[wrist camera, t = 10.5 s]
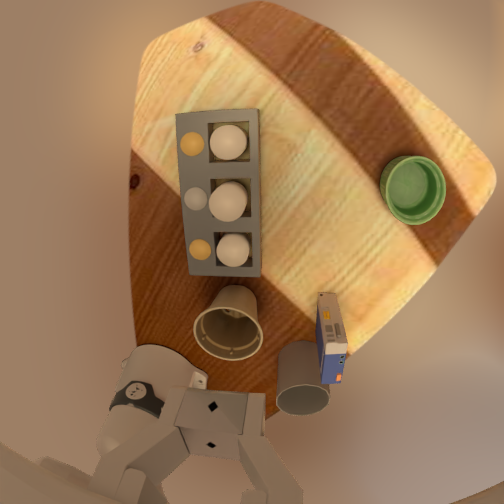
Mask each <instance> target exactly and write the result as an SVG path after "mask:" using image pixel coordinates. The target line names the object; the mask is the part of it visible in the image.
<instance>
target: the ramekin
mask: <svg viewBox="0 0 504 504" xmlns="http://www.w3.org/2000/svg"><path fill="white" fill-rule="evenodd" d="M380 191H381V195H382V197H383V199H384V201H385V203H386V204H387V205H388V208H389V210H390V211H391V213H392V214H393V215H394V216H395V217H396V218H397V219H398V220H400V221H401V222H403V223H406V224H410V225H418V224H422V223H425V222H427V221H429V220H431V219H432V218H433V217H434V216H435V215H436V214H437V213H438V212H439V210H440V209H441V207H442V205H443V202H444V199H445V195H446V184H445V179H444V176H443V174H442V172H441V170H440V168H439V167H438V166H437V165H436V164H435V163H434V162H433V161H432V160H430V159H428V158H426V157H422V156H400V157H397V158H395V159H393V160H392V161H390V162H389V163H388V164H387V166H386V167H385V168H384V170H383V172H382V174H381V178H380Z"/></svg>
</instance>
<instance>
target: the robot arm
mask: <svg viewBox="0 0 504 504" xmlns="http://www.w3.org/2000/svg"><path fill="white" fill-rule="evenodd" d="M121 367H122V368H123V371H122V373H121V376H120V378H119V380H118V383H117V385H116V388H115V392H116V395H115V397H114V398H113V400H112V403H111V405H110V408H109V410H110V413H109V415H108V417H107V419H106V421H105V423H104V425H103V427H102V429H101V431H100V433H99V435H98V437H97V441H96V445H97V450H98V452H99V454H100V456H101V459H100V461H99V463H98V465H97V467H96V470H95V472H94V474H93V476H90V475H88V474H86V473H84V472H82V471H80V470H79V469H76V468H75V467H73V466H70V465H68V464H65V463H63V462H60V461H58V460H55V459H53V458H50V457H42V458H39V459H36V460H35V461H33V462H32V461H30V460H28V459H27V458H25V457H23V456H22V455H20V454H18V453H17V452H15V451H14V450H12V449H11V448H9V447H8V446H6V445H5V444H3V443H2V442H0V504H169V502H168V500H167V498H166V496H165V494H164V491H163V488H162V484H161V482H162V481H163V480H164V479H165V478H166V477H167V476H168V475H170V473H172V472H173V471H174V470H175V469H176V468H177V467H178V466H179V465H180V464H181V463H182V462H183V461H185V459H187V458H188V457H189V454H192V455H200V456H208V457H216V458H224V459H231V460H240V462H241V464H242V466H243V468H244V469H245V471H246V473H247V475H248V477H249V479H250V481H251V482H252V484H253V486H254V488H255V490H248V489H247V490H246V491H244V492H243V493H242V498H241V503H240V504H303V489H302V488H301V487H300V485H299V484H298V483H297V481H296V480H295V478H294V477H293V475H292V474H291V473H290V471H289V470H288V468H287V467H286V466H285V464H284V463H283V461H282V460H281V458H280V457H279V455H278V454H277V452H276V451H275V449H274V448H273V446H272V445H271V443H270V442H269V440H268V439H267V437H264V429H265V394H264V393H249V392H232V391H219V390H218V391H213V390H206V389H207V380H208V375H207V374H206V373H205V372H204V371H202V370H200V369H198V368H196V367H194V366H193V365H192V364H191V363H190V362H189V361H188V360H186V359H185V358H184V357H183V356H181V355H180V354H178V353H177V352H175V351H173V350H171V349H168V348H166V347H162V346H158V345H142V346H139V347H137V348H135V349H134V350H133V351H132V353H131V355H130V357H129V358H127V359H125V360H123V361H122V364H121ZM451 504H504V481H503V482H501V483H499V484H497V485H495V486H492V487H490V488H488V489H486V490H483V491H481V492H479V493H476V494H474V495H472V496H469V497H467V498H464V499H461V500H459V501H456V502H453V503H451Z"/></svg>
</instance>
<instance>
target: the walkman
mask: <svg viewBox="0 0 504 504" xmlns="http://www.w3.org/2000/svg"><path fill="white" fill-rule="evenodd" d="M316 340H317V349H318V358H319V367H320V377H321V384H334V383H340V382H341V378H342V373H343V368H344V363H345V358H346V351H347V345H348V342H347V338H346V333H345V329H344V325H343V321H342V317H341V313H340V309H339V305H338V301H337V298H336V294H335V293H327V292H319V293H318V305H317V320H316Z"/></svg>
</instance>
